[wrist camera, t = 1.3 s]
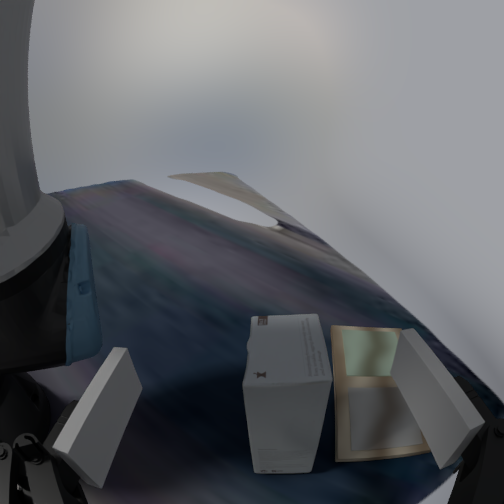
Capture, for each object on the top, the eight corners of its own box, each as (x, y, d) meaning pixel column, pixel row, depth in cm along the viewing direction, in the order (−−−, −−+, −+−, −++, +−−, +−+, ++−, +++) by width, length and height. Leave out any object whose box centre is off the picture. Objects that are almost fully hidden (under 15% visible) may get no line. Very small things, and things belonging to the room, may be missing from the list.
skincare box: (311, 473, 21) (340, 385, 15) (250, 474, 21) (240, 387, 15) (307, 412, 28) (322, 310, 23) (255, 413, 29) (250, 310, 23)
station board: (335, 461, 22) (338, 458, 22) (330, 329, 42) (331, 324, 41) (429, 452, 21) (434, 448, 20) (399, 333, 40) (401, 327, 40)
